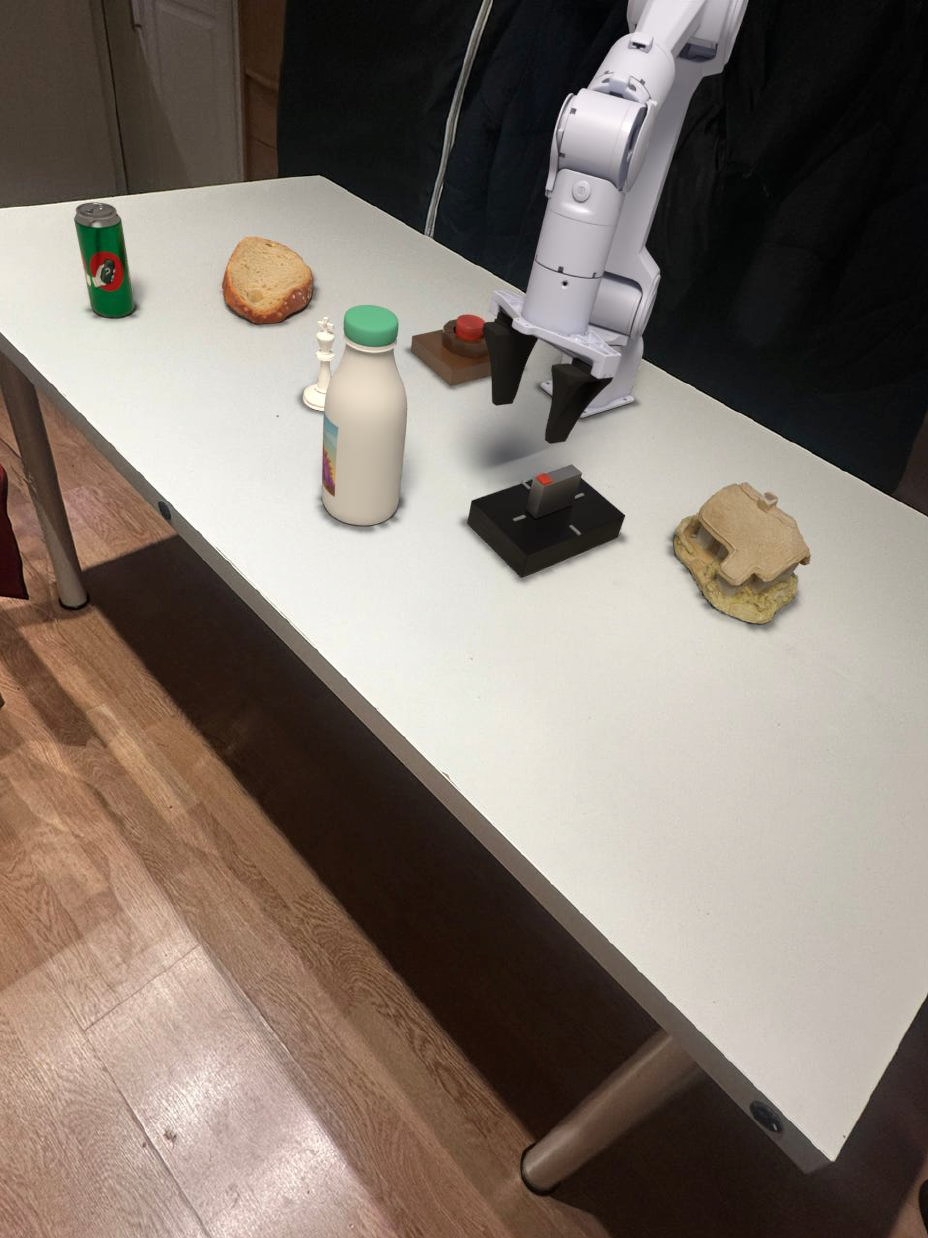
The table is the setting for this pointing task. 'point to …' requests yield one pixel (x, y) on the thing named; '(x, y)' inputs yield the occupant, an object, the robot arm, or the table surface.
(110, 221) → the soda can
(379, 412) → the milk bottle
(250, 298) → the slice of bread
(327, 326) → the chess piece
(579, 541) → the panel
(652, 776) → the table surface
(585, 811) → the table surface
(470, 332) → the button
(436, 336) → the brown button base
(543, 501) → the knob
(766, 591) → the ceramic model
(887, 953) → the table surface
